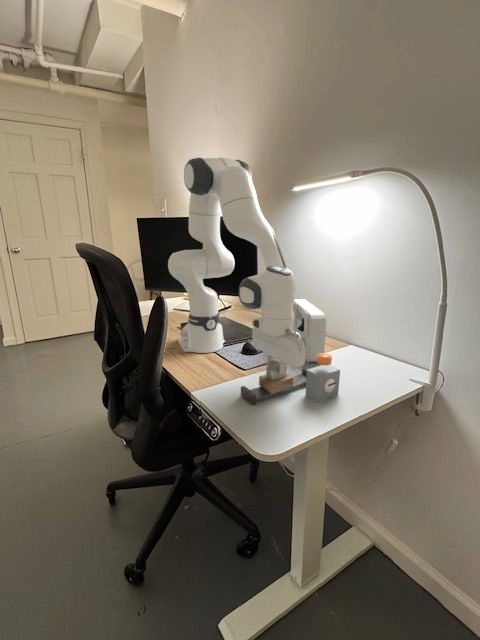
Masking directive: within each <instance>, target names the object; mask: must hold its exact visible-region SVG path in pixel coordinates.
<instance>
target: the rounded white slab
mask: <svg viewBox="0 0 480 640" xmlns="http://www.w3.org/2000/svg"><path fill="white" fill-rule="evenodd" d="M293 312H294V327H293V332H295V333H298V334H300V336H301V338H302V339H303V343H304V349H305V362H307V363H317V355H318V354H320V353H325V348H326V347H325V346H326V345H325V344H326V331H327V316H326V314H325V312H323V311H321V310H320V309H319V308H318V307H317V306H315V305H313V304H312V303H311V302H309V301H308V300H306V299H305V298H300V299H297V298H295V301H294V304H293Z"/></svg>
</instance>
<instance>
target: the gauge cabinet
mask: <svg viewBox="0 0 480 640" xmlns="http://www.w3.org/2000/svg"><path fill="white" fill-rule="evenodd" d="M307 369H308V370H307V377H306V387H305V396H306V397H308V398H309V399H311V400H312V401H315V402H316V403H321V402H324V401H326V400H328V399H332V398H334V397H336V396H339V390H340V389H339V388H340V377H341V375H340V374H341V369H340V368H338V367H336V366H333V365H332V364H330V365H317V366H314V367H312V368H307Z"/></svg>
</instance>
